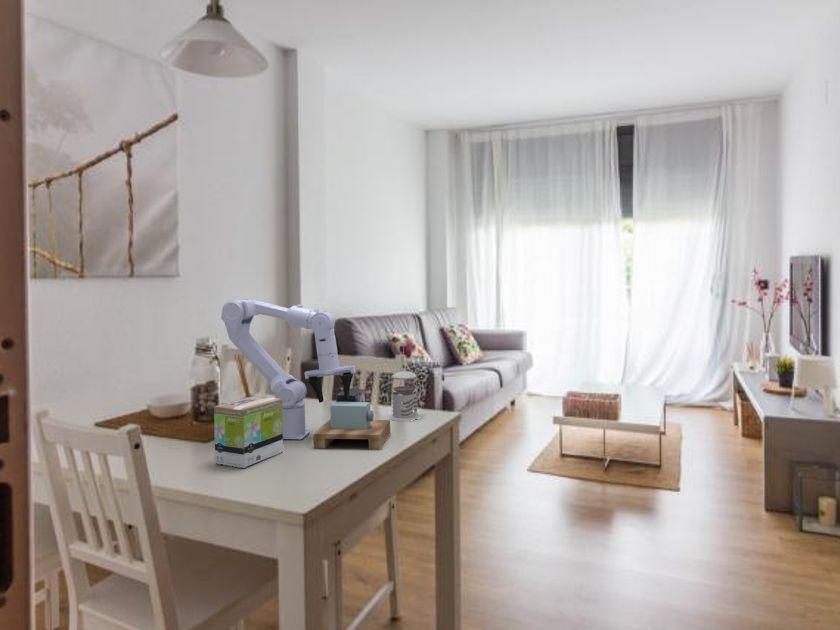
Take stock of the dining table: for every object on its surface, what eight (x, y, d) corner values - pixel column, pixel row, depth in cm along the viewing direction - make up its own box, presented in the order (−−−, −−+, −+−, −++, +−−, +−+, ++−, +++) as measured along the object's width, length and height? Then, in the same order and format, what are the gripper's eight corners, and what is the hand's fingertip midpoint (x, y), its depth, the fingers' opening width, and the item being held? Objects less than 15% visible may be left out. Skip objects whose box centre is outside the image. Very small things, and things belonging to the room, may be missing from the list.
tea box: (245, 469, 143) (243, 409, 142) (214, 464, 147) (211, 405, 147) (284, 452, 157) (282, 397, 156) (255, 448, 161) (252, 394, 160)
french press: (383, 418, 192) (381, 341, 190) (409, 412, 200) (407, 338, 198) (404, 423, 185) (402, 343, 183) (430, 416, 193) (428, 340, 191)
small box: (356, 429, 179) (355, 395, 178) (335, 428, 180) (334, 394, 179) (366, 420, 189) (365, 388, 188) (347, 420, 190) (346, 388, 190)
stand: (314, 448, 159) (313, 433, 159) (330, 432, 175) (329, 419, 175) (379, 449, 157) (379, 434, 157) (390, 433, 173) (390, 420, 173)
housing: (330, 428, 164) (330, 405, 164) (337, 424, 169) (336, 401, 169) (369, 429, 162) (369, 406, 162) (374, 425, 167) (374, 402, 167)
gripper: (298, 358, 166) (305, 406, 167) (348, 352, 165) (355, 400, 165) (306, 355, 173) (313, 400, 174) (354, 349, 172) (361, 395, 172)
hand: (334, 400), depth 170 cm, fingers open, 7 cm apart
